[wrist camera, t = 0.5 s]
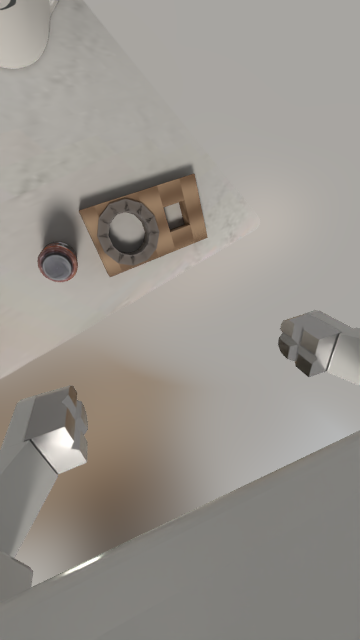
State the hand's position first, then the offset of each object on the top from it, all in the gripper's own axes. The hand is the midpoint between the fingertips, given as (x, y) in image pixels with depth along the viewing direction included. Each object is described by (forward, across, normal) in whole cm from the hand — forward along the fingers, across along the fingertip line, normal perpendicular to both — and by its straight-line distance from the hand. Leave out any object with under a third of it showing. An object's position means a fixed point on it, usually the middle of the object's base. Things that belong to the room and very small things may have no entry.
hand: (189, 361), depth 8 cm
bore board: (+46, -8, +2) cm, 47 cm away
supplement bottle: (+44, +11, +5) cm, 46 cm away
